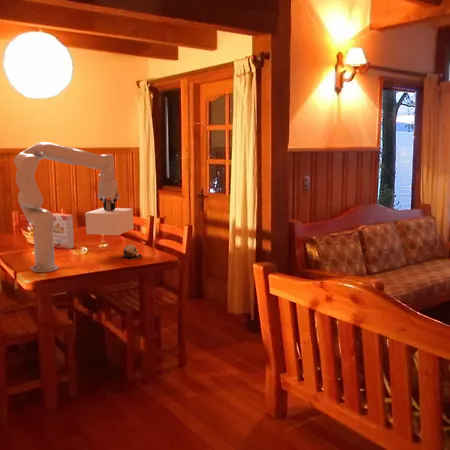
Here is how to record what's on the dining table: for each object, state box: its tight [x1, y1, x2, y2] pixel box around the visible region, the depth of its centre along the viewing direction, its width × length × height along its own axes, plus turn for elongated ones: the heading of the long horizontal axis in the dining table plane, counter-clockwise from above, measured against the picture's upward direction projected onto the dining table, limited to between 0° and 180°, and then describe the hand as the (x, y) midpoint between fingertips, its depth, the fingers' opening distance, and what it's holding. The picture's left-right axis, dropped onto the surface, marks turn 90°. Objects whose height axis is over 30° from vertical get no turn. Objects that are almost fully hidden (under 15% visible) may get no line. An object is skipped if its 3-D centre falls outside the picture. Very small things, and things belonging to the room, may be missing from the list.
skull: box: [120, 243, 143, 260], centre depth 299 cm, size 12×10×10 cm
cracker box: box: [52, 212, 75, 250], centre depth 323 cm, size 14×6×21 cm, turn 62°
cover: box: [84, 199, 135, 236], centre depth 292 cm, size 19×19×18 cm
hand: (109, 209), depth 291 cm, fingers closed on cover, 3 cm apart
